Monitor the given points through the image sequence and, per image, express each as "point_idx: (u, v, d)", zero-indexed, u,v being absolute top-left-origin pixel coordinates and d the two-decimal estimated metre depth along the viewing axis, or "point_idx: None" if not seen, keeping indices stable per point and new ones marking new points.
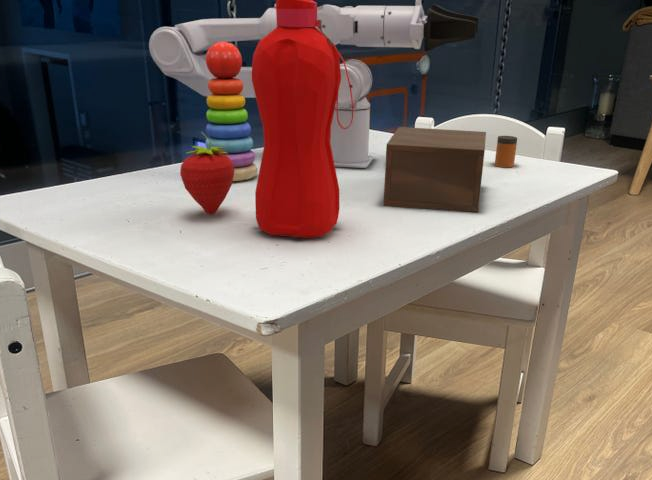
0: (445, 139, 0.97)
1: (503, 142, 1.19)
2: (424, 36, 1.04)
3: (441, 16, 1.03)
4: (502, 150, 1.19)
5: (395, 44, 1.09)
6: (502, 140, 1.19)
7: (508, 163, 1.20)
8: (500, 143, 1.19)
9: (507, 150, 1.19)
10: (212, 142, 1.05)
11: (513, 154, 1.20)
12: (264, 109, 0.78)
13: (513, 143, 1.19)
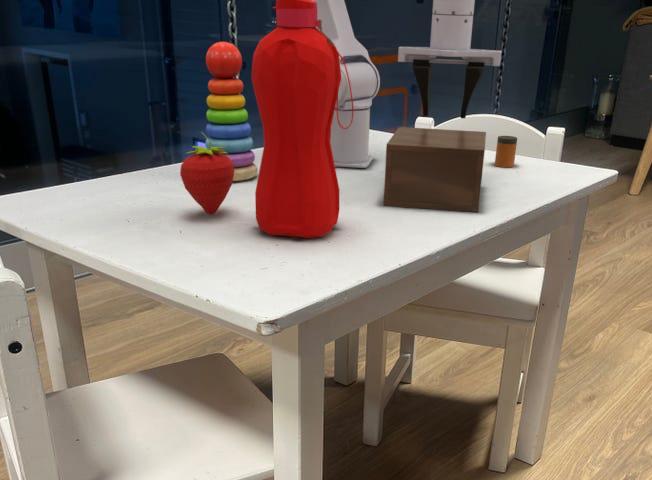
0: (445, 139, 0.97)
1: (503, 142, 1.19)
2: None
3: (417, 81, 1.04)
4: (502, 150, 1.19)
5: None
6: (502, 140, 1.19)
7: (508, 163, 1.20)
8: (500, 143, 1.19)
9: (507, 150, 1.19)
10: (212, 142, 1.05)
11: (513, 154, 1.20)
12: (264, 109, 0.78)
13: (513, 143, 1.19)
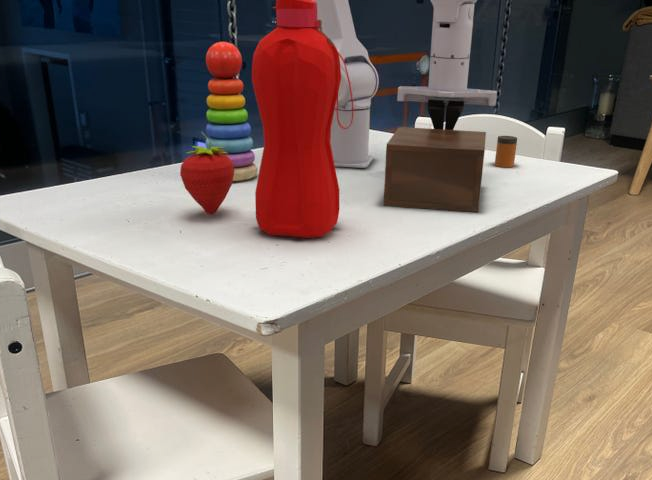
0: (445, 139, 0.97)
1: (503, 142, 1.19)
2: None
3: (431, 120, 1.07)
4: (502, 150, 1.19)
5: None
6: (502, 140, 1.19)
7: (508, 163, 1.20)
8: (500, 143, 1.19)
9: (507, 150, 1.19)
10: (212, 142, 1.05)
11: (513, 154, 1.20)
12: (264, 109, 0.78)
13: (513, 143, 1.19)
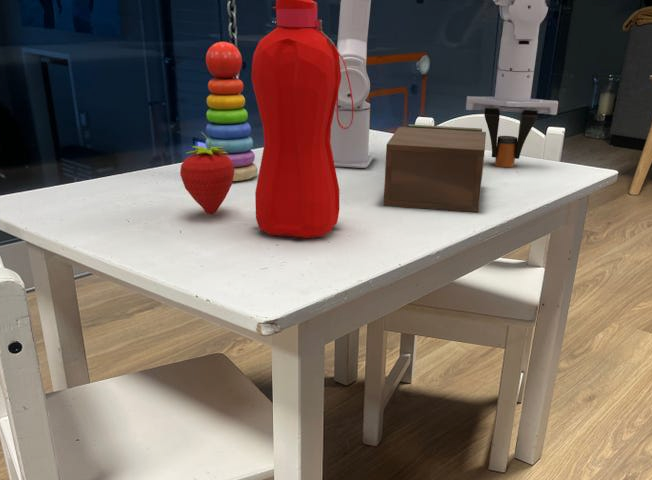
0: (445, 139, 0.97)
1: (503, 142, 1.19)
2: None
3: (488, 127, 1.18)
4: (502, 150, 1.19)
5: None
6: (502, 140, 1.19)
7: (508, 163, 1.20)
8: (500, 143, 1.19)
9: (507, 150, 1.19)
10: (212, 142, 1.05)
11: (513, 154, 1.20)
12: (264, 109, 0.78)
13: (513, 143, 1.19)
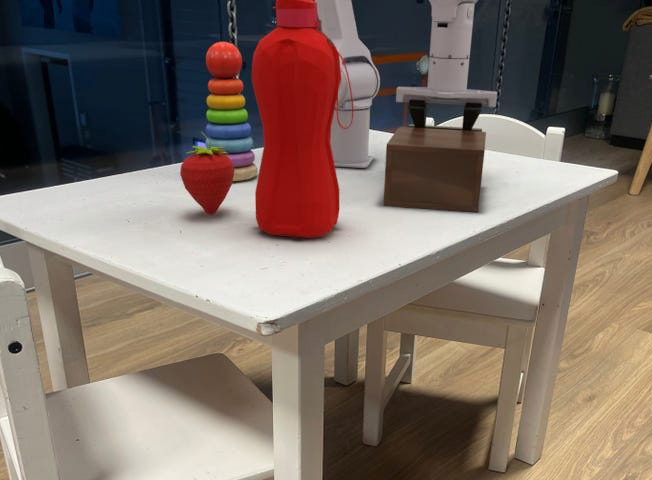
0: (445, 139, 0.97)
1: None
2: None
3: (413, 120, 1.06)
4: None
5: None
6: None
7: None
8: None
9: None
10: (212, 142, 1.05)
11: None
12: (264, 109, 0.78)
13: None
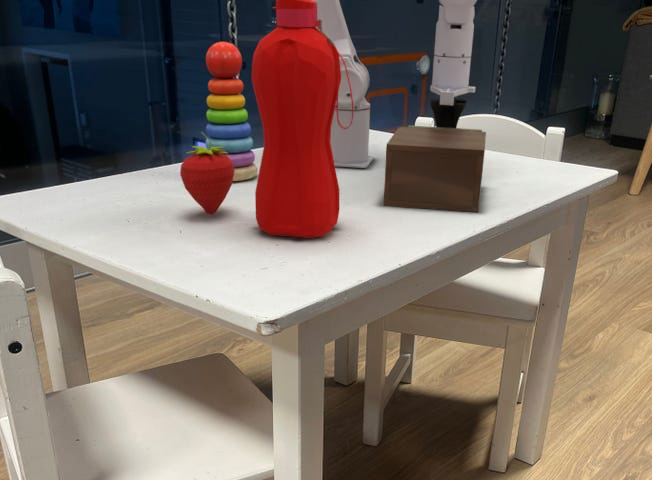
0: (445, 139, 0.97)
1: None
2: None
3: (458, 116, 1.14)
4: None
5: (436, 67, 1.11)
6: None
7: None
8: None
9: None
10: (212, 142, 1.05)
11: None
12: (264, 109, 0.78)
13: None
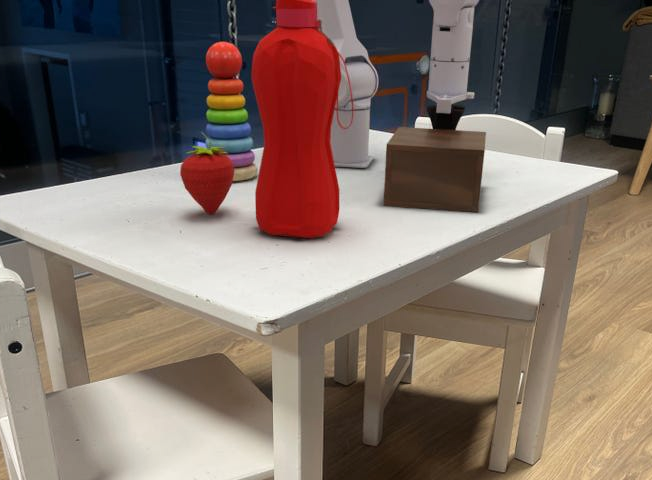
0: (445, 139, 0.97)
1: None
2: None
3: (456, 123, 1.08)
4: None
5: (432, 72, 1.05)
6: None
7: None
8: None
9: None
10: (212, 142, 1.05)
11: None
12: (264, 109, 0.78)
13: None
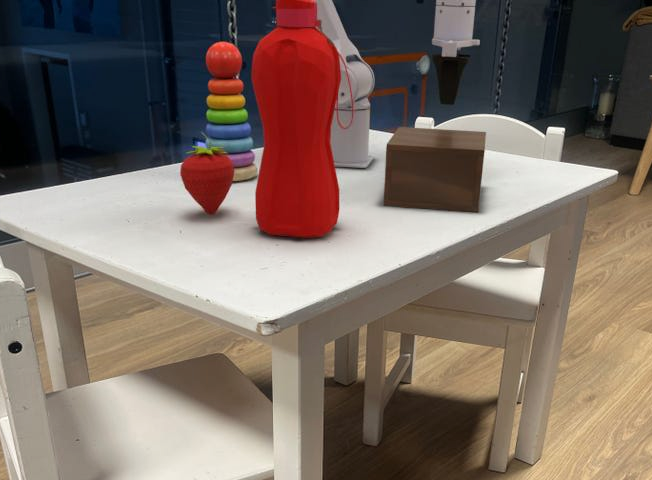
0: (445, 139, 0.97)
1: None
2: None
3: (462, 71, 1.07)
4: None
5: (438, 18, 1.05)
6: None
7: None
8: None
9: None
10: (212, 142, 1.05)
11: None
12: (264, 109, 0.78)
13: None
